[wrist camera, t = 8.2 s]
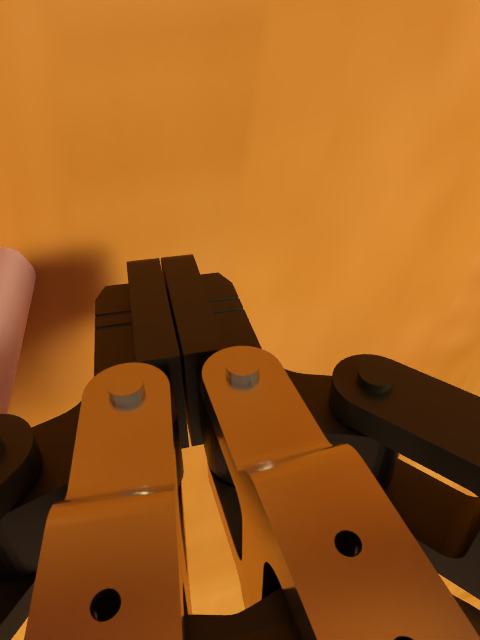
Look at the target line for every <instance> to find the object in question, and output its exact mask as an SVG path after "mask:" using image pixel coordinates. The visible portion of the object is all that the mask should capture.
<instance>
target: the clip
mask: <svg viewBox="0 0 480 640" xmlns="http://www.w3.org/2000/svg"><path fill="white" fill-rule="evenodd" d="M35 281H36V273H35V270H34V268H33V267H32V265H31V264H30V263H29V262H28V260H27V259H26V258H25V257H24V256H23V255H22V254H21V253H20V252H18V251H16V250H14V249H12V248H7V247H0V414H7V413H8V409H9V404H10V399H11V395H12V390H13V385H14V380H15V376H16V371H17V366H18V361H19V357H20V352H21V347H22V342H23V338H24V333H25V328H26V324H27V319H28V314H29V309H30V305H31V300H32V295H33V290H34V286H35Z"/></svg>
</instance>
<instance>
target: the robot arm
mask: <svg viewBox="0 0 480 640" xmlns="http://www.w3.org/2000/svg"><path fill="white" fill-rule="evenodd" d="M161 266H162V270H161ZM127 272H128V282H129V284H120V285H112V286H105V288H104V289H103V290H102V292H101V293H100V295H99V296H98V297H97V299H96V300H95V317H96V318H95V355H94V377H93V378H92V379H91V380H90V381H89V383H88V384H87V385H86V387H85V389H84V392H83V395H82V401H81V402H80V403H79V404H78V405H76V406H75V407H74V408H72V409H71V410H69V411H68V412H66V413H64V414H62V415H60V416H58V417H56V418H53V419H51V420H49V421H46V422H44V423H41V424H39V425H36V426H34V427H32V428H31V427H30V425H29V424H28V423H27V422H26V421H25V420H24V419H22V418H20V417H18V416H15V415H10V414H0V640H11V639H12V638H13V636H14V635H15V634H16V632H17V631H18V630H19V628H20V627H21V626H22V624H23V623H24V622H25V620H26V619H27V617H28V621H27V627H26V632H25V637H24V640H480V610H478V609H477V608H475V607H473V606H472V605H470V604H469V603H467V602H465V601H463V600H461V599H459V598H457V597H456V596H454V595H452V594H451V593H450V591H449V590H448V588H447V586H446V585H445V583H444V582H443V580H442V579H441V577H440V576H439V574H440V575H442V576H443V577H445V578H446V579H448V580H450V581H451V582H453V583H454V584H456V585H457V586H459V587H461V588H462V589H464V590H465V591H467V592H468V593H470V594H472V595H473V596H475V597H476V598H478V599H479V600H480V397H479V396H476V395H474V394H472V393H469V392H467V391H464V390H462V389H460V388H457V387H455V386H453V385H450V384H448V383H446V382H443V381H441V380H438V379H436V378H434V377H431V376H429V375H427V374H424V373H422V372H420V371H417V370H415V369H412V368H410V367H408V366H405V365H403V364H401V363H398V362H396V361H394V360H391V359H388V358H386V357H382V356H378V355H371V354H361V355H354V356H350V357H348V358H345V359H344V360H342V361H340V362H339V363H338V364H337V365H336V367H335V368H334V371H333V375H332V376H325V375H312V374H301V373H296V372H292V371H289V370H286V369H284V368H283V366H282V365H281V363H280V362H279V360H278V359H277V358H276V357H275V356H274V355H272V354H271V353H269V352H267V351H265V350H263V349H262V348H261V346H260V344H259V342H258V340H257V337H256V335H255V333H254V331H253V328H252V326H251V324H250V322H249V319H248V317H247V315H246V313H245V311H244V310H243V306H242V304H241V302H240V299H238V295H237V293H236V290H235V288H234V286H233V284H232V282H230V281H229V280H228V279H226V278H225V277H223V276H222V275H221V274H219V273H210V274H202V275H200V273H199V270H198V267H197V264H196V262H195V259H194V256H193V254H191V255H182V256H173V257H164V258H161V265H160V261H159V258H156V259H147V260H138V261H129V262H127ZM186 419H187V420H186ZM187 424H188V429H189V434H190V439H191V444H192V446H196V445H201V444H204V447H205V452H206V456H207V463H208V477H209V482H210V485H211V488H212V491H213V495H214V498H215V501H216V504H217V507H218V510H219V514H220V517H221V520H222V523H223V526H224V530H225V533H226V536H227V539H228V542H229V545H230V549H231V552H232V555H233V558H234V561H235V564H236V568H237V571H238V575H239V580H240V584H241V590H242V596H243V601H244V606H245V610H244V611H242V612H240V613H237V614H234V615H192V608H191V598H190V587H189V574H188V561H187V547H186V534H185V520H184V506H183V493H182V482H181V481H182V478H183V472H184V470H183V460H182V451H181V449H182V448H187V447H189V441H188V431H187ZM399 453H400V454H402V455H403V456H405V457H407V458H409V459H411V460H413V461H415V462H417V463H419V464H421V465H422V466H424V467H426V468H428V469H430V470H432V471H434V472H436V473H438V474H440V475H441V476H443V477H445V478H447V479H449V480H451V481H453V482H455V483H457V484H459V485H460V486H462V487H464V488H466V489H468V490H470V491H471V492H473V493H474V494H476V495H477V496H478V497H472V496H468V495H466V494H464V493H462V492H460V491H458V490H456V489H454V488H452V487H450V486H449V485H447V484H445V483H443V482H441V481H439V480H437V479H435V478H434V477H432V476H430V475H428V474H426V473H424V472H422V471H420V470H419V469H417V468H415V467H413V466H411V465H409V464H407V463H405V462H403V461H402V460H400V459H398V456H399Z"/></svg>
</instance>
